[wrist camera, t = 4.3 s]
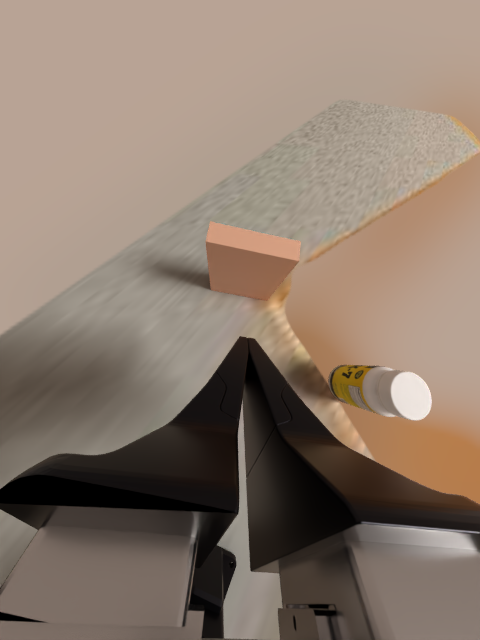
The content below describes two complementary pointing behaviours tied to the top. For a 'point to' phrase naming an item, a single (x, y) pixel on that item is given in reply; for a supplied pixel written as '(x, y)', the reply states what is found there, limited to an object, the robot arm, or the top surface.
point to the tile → (248, 260)
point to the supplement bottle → (381, 390)
